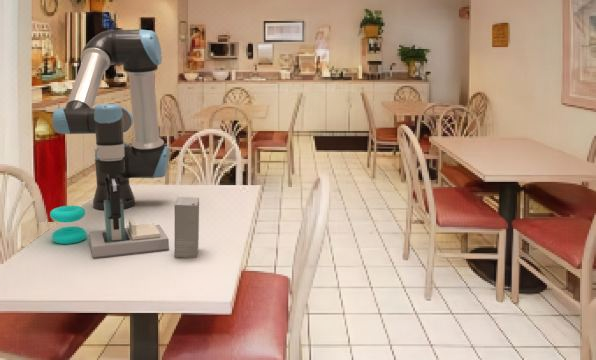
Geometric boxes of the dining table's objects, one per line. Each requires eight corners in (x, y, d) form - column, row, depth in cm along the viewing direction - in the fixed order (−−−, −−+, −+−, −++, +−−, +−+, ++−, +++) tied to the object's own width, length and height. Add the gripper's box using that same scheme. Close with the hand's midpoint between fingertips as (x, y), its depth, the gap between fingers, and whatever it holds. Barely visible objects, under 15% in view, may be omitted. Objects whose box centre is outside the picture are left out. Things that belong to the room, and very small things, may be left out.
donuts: (70, 203, 194) (91, 207, 189) (72, 233, 196) (93, 238, 191) (42, 209, 186) (64, 214, 181) (45, 241, 188) (66, 247, 183)
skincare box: (176, 249, 181) (174, 196, 178) (201, 248, 182) (199, 196, 178) (173, 258, 173) (171, 203, 170) (199, 258, 173) (197, 203, 170)
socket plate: (89, 242, 187) (88, 231, 186) (159, 235, 195) (159, 224, 194) (93, 258, 173) (92, 246, 172) (168, 250, 180) (168, 238, 179)
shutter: (127, 228, 189) (126, 216, 188) (153, 226, 191) (153, 213, 191) (132, 239, 178) (131, 226, 177) (160, 236, 180) (159, 223, 180)
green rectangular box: (123, 237, 185) (121, 198, 183) (125, 242, 181) (123, 202, 178) (106, 239, 183) (103, 200, 181) (107, 244, 179) (105, 203, 176)
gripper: (95, 154, 184) (99, 230, 189) (99, 164, 167) (104, 247, 172) (121, 153, 187) (125, 227, 191) (128, 163, 170) (132, 244, 175)
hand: (115, 236), depth 182 cm, fingers closed on green rectangular box, 5 cm apart
